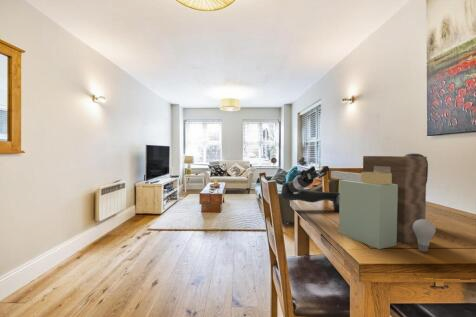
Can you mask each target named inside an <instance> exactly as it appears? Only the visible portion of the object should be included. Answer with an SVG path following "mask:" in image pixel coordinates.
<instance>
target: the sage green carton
mask: <svg viewBox="0 0 476 317" xmlns="http://www.w3.org/2000/svg"><path fill="white" fill-rule="evenodd" d="M339 193H340V201H339V212H338V214H339V215H338V217H339V218H338V233H339V234H341V235H344V236H346V237H348V238H351V239H353V240H356V241H358V242H360V243H363V244H366V245H368V246H370V247H373V248H375V249H378V250H381V249H386V248H391V247H395V246H397V245H398V244H397V201H398V185H397V184H391V185H376V184H369V183H361V182H357V181H350V180H342V179H339Z"/></svg>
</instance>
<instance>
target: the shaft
mask: <svg viewBox="0 0 476 317" xmlns="http://www.w3.org/2000/svg"><path fill="white" fill-rule="evenodd" d="M330 178H331V179H335V180H350V181H357V182H361V183H369V184H376V185H391V184H392V173H382V172H363V171H361V172H347V171H338V170H334V171H333V170H331V171H330Z"/></svg>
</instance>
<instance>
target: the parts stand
mask: <svg viewBox="0 0 476 317" xmlns="http://www.w3.org/2000/svg"><path fill="white" fill-rule="evenodd" d="M362 160H363V161H362V172H382V173H392V184H397V185H398V201H397V242H398V243H400V244H403V245H405V244H410V243H414V242H415V243H416V242H418V241H417V236H416V234H415V233H414V231H413V228H412V227H413V223H414V222H415V221H416V220H419V219H425V208H426V209H427V204H426V201H427V200H426V199H427V183H426V167H427V161H428V157H427V156H424V157H410V156H405V155H403V156H400V155H399V156H398V155H397V156H395V155H394V156H393V155H364V156H362Z"/></svg>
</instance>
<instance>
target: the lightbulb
mask: <svg viewBox="0 0 476 317" xmlns="http://www.w3.org/2000/svg"><path fill="white" fill-rule="evenodd" d="M412 228H413V231H414V233H415V234H416V236H417V241H416V242H417V244H418V246H417V247H418V250H419V251H421V252H422V253H426V252H428V251H429V246H430V242H431V240H432V238H433V237H434V236H435V234H436V226H435V225H434V224H433V222H431V221H430V220H428V219H426V220H425V219H419V220H416V221H415V222H414V223H413V227H412Z"/></svg>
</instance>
